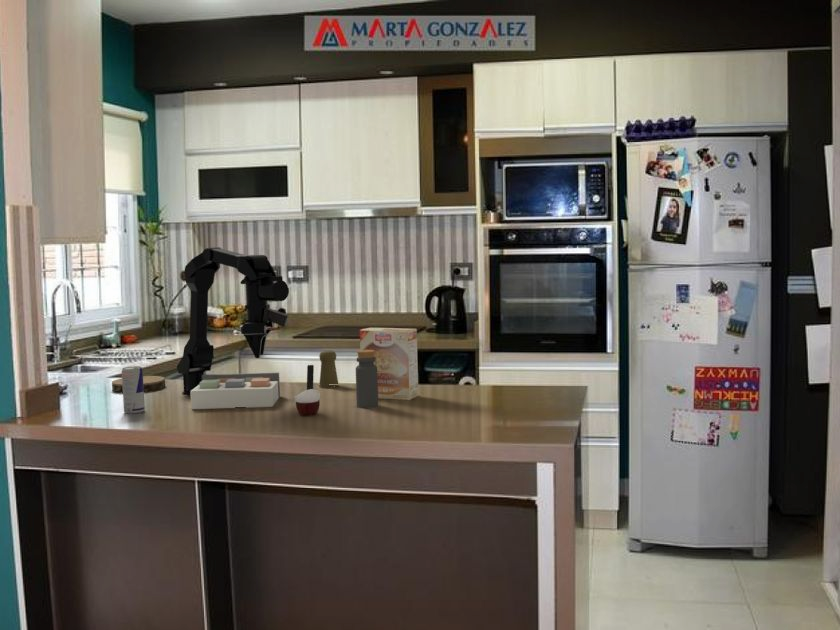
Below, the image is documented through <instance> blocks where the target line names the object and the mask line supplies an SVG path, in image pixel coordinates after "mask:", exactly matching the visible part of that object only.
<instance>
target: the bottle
mask: <svg viewBox="0 0 840 630" xmlns="http://www.w3.org/2000/svg"><path fill="white" fill-rule="evenodd" d="M356 352H357V356H358V357H356V362H357V363H358V365H357V366H356V367H355V391H356V392H355V393H356V398H355V399H356V407H357V408H361V409H368V408H369V409H370V408H372V409H373V408H376V407H378V406H379V399H378V374H377V366H375V365H374V361H376V357H374V352H375V351H374V350H360V349H359V350H357V351H356Z"/></svg>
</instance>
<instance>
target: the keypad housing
mask: <svg viewBox="0 0 840 630" xmlns="http://www.w3.org/2000/svg"><path fill="white" fill-rule="evenodd" d="M253 378H270V386H269V387H251V380H252V379H253ZM217 379H220V387H219V388H208V389H200V384H199V385H198V386H196V387H195V388H194V389H192V390H191V391H190V409H191V410H206V409H207V410H209V409H210V410H212V409H236V408H235V407H246V408H268V407H269V408H271V407H272V408H273V406H275V404H276V403H277V401H278V400H279V398H280V397H281V388H280V384H281V383H280V372H256V373H255V372H253V373H252V372H251V373H250V372H249V373H219V374H218V373H213V374H206V375H202V381H203V380H217ZM228 379H245V387H240V388H225V382H226V381H227V380H228Z"/></svg>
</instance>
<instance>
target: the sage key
mask: <svg viewBox="0 0 840 630" xmlns="http://www.w3.org/2000/svg"><path fill="white" fill-rule="evenodd" d="M219 387H220V379H217V380H203V381H201V382H200V389H208V388H219Z"/></svg>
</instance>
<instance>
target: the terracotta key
mask: <svg viewBox="0 0 840 630" xmlns="http://www.w3.org/2000/svg"><path fill="white" fill-rule="evenodd" d="M269 386H270V378H253V379H252V380H251V387H269Z"/></svg>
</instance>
